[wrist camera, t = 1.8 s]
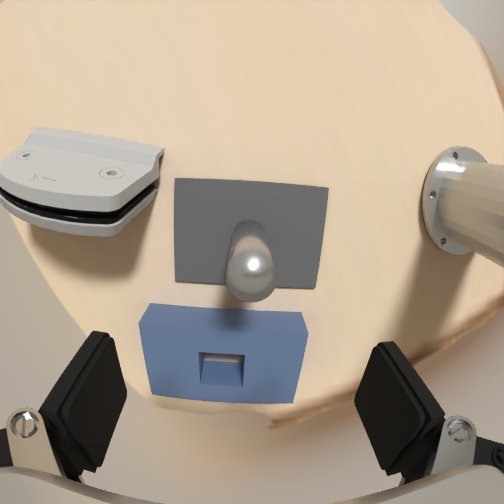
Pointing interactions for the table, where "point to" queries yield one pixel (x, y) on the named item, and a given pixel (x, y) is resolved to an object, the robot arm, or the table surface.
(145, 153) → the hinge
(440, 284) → the table surface
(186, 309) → the hole block
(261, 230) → the peg
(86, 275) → the table surface
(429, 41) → the table surface
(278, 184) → the mat
